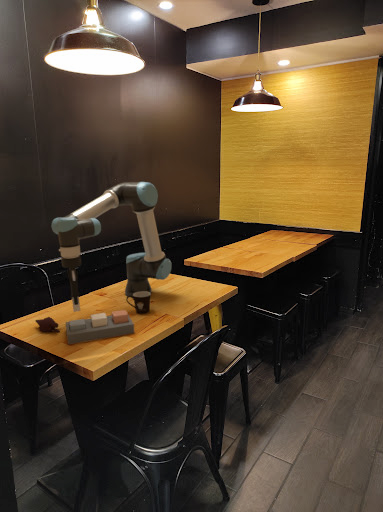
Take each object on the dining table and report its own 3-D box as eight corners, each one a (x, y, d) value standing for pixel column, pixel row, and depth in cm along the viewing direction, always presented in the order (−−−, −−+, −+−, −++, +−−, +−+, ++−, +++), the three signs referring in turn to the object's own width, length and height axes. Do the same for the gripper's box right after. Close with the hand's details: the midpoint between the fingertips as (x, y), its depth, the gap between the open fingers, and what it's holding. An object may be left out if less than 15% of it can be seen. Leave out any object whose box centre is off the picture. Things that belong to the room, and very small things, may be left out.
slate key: (84, 327, 160) (83, 318, 159) (86, 332, 154) (85, 324, 153) (70, 329, 157) (69, 321, 157) (71, 335, 152) (70, 326, 151)
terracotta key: (125, 318, 166) (125, 309, 165) (128, 323, 160) (127, 314, 159) (112, 320, 163) (111, 311, 163) (114, 325, 158) (114, 316, 157)
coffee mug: (155, 312, 183) (154, 293, 181) (143, 318, 176) (142, 298, 174) (137, 307, 189) (136, 289, 187) (125, 313, 182) (124, 294, 180)
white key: (105, 321, 162) (104, 312, 161) (107, 326, 157) (106, 317, 156) (91, 323, 160) (90, 314, 159) (93, 328, 155) (92, 319, 154)
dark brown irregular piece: (26, 318, 161) (50, 328, 154) (40, 309, 167) (63, 318, 160) (31, 331, 164) (54, 341, 157) (44, 321, 170) (67, 330, 163)
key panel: (127, 322, 171) (127, 312, 170) (134, 335, 158) (133, 324, 157) (66, 332, 161) (65, 322, 160) (68, 346, 148) (67, 335, 147)
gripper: (60, 253, 153) (66, 306, 159) (61, 260, 141) (68, 318, 147) (79, 251, 156) (84, 304, 161) (82, 258, 144) (87, 314, 149)
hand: (76, 310), depth 154 cm, fingers closed
